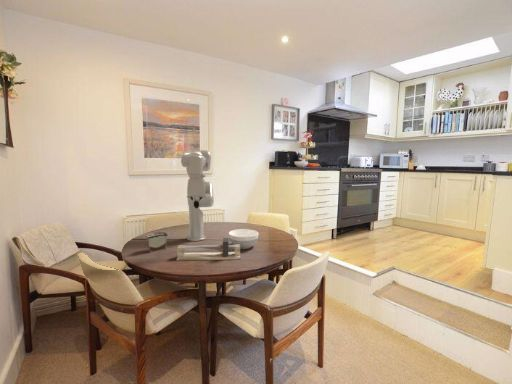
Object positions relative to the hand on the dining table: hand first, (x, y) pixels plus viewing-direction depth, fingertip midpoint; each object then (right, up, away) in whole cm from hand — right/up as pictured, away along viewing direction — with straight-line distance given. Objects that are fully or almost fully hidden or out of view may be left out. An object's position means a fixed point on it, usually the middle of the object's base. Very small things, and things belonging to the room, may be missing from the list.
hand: (196, 207), depth 146 cm
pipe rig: (+9, -27, -7) cm, 29 cm away
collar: (+18, -26, -6) cm, 32 cm away
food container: (-25, -26, +3) cm, 36 cm away
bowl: (+27, -26, +13) cm, 39 cm away
